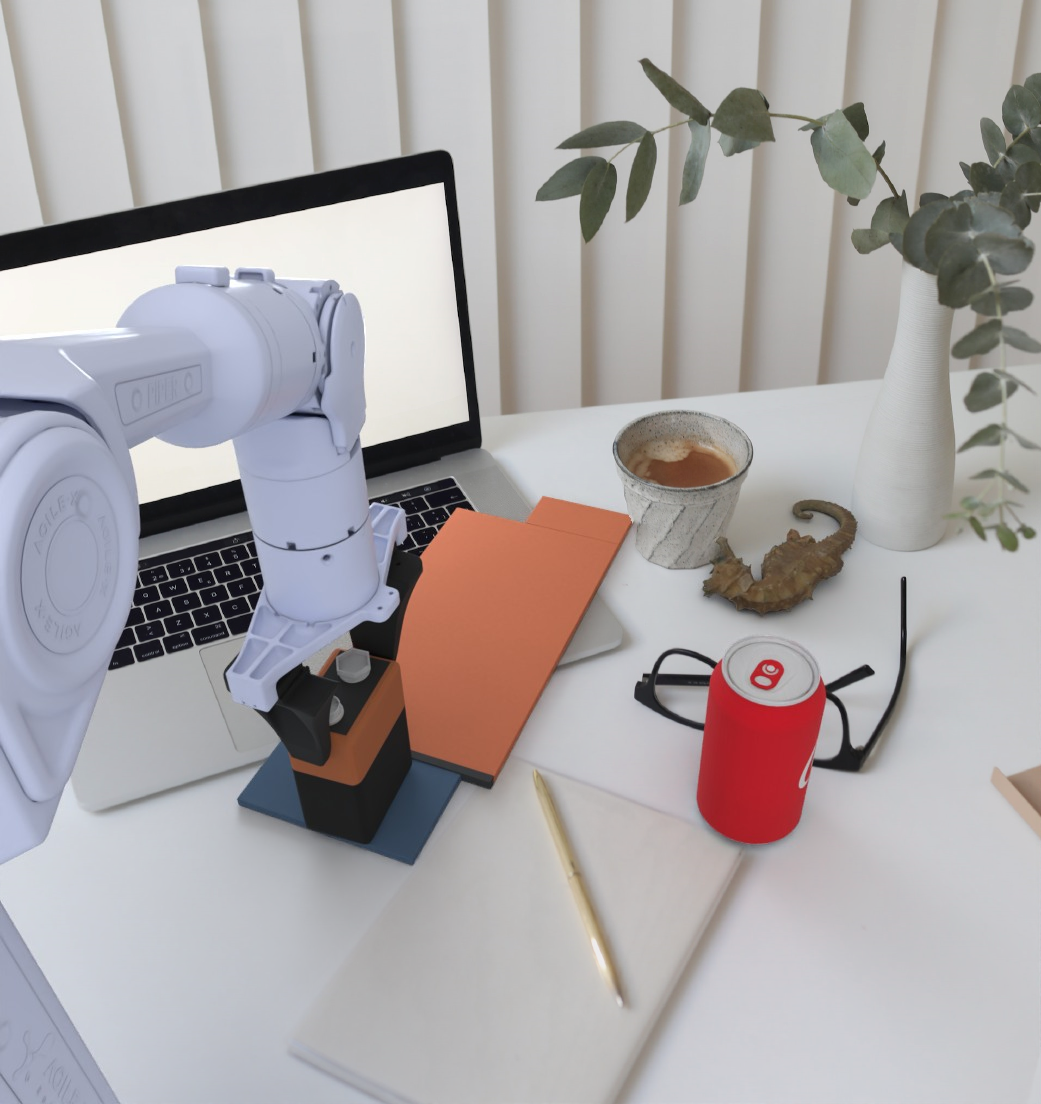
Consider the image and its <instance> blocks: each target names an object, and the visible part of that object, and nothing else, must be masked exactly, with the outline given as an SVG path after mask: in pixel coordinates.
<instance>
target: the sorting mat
mask: <svg viewBox="0 0 1041 1104" xmlns="http://www.w3.org/2000/svg"><path fill="white" fill-rule="evenodd" d="M629 515H630V514H628V513H623V512H618V511H614V510H609V509H604V508H601V507H595V506H592V505H586V504H582V503H578V502H574V501H569V500H564V499H558V498H555V497H550V496H547V495H542V496H541V498H540V500H539V501H538V502H537V504H536V505H535V507H534V508H533V510H532V511H531V513H530V514H529V516H528V517H527V519H526V520H525V522H524V521H518V520H513V519H510V518H505V517H500V516H497V515H492V514H488V513H483V512H478V511H475V510H471V509H466V508H461V507H456V508H455V510H454V511H453V512H452V514H451V515H450V516H449V518H448V519H447V520H446V521H445V523H444V524H443V526H442V527H441V528H440V529H439V531H438V532H437V533H436V535H435V536H434V538H433V539H432V540H431V541H430V542H429V544H428V546H426V548H425V549H424V551H423V552H422V553H421V555H420V556H419V557H420V558H421V560H422V564H423V572H422V574H421V576H420V578H419V579H418V581H417V583H416V585H415V587H414V589H413V592H412V594H411V597H410V600H409V602H408V605H407V609H406V612H405V616H404V620H403V625H402V631H401V636H400V642H399V648H398V654H397V658H396V662H398V663H399V665H400V670H401V678H402V685H403V693H404V701H405V709H406V717H407V724H408V732H409V740H410V748H411V755H412V765H411V768H410V770H409V771H408V773H407V775H406V777H405V779H404V781H403V783H402V785H401V787H400V788H399V790H398V792H397V794H396V796H395V798H394V800H393V802H392V804H391V805H390V807H389V809H388V811H387V813H386V815H385V817H384V819H383V821H382V822H381V824H380V826H379V828H378V830H377V832H376V834H375V836H374V837H373V839H372V840H371V842H370V843H368V844H365V845H364V844H360V843H356V842H353V841H349V840H346V839H342V838H339V837H335V836H331V835H328V834H324V833H321V832H317V831H314V830H310V829H308V828H307V827H306V824H305V821H304V816H303V812H302V808H301V804H300V800H299V795H298V791H297V787H296V783H295V778H294V774H293V770H292V766H291V762H290V757H289V753H288V750H287V748H286V747H285V745H284V744H283V742H282V741H281V740H280V741H279V742H278V744H277V745H276V746H275V747H274V749H273V750H272V752H271V753H270V754H269V756H268V757H267V759H266V760H265V761H264V762H263V763H262V765H261V766H260V768H259V769H258V770H257V772H256V773H255V774H254V775H253V777H252V778H251V779H250V781H249V782H248V783H247V785H246V786H245V788H243V790H242V791H241V792H240V794H239V795H238V797H237V798H236V801H237V805H238V806H241V807H244V808H247V809H249V810H253V811H255V812H258V813H261V814H263V815H266V816H270V817H272V818H275V819H278V820H282V821H284V822H286V823H289V824H292V825H296V826H298V827H301V828H304V829H306V830H309V831H313V832H315V833H319V834H321V835H324V836H327V837H330V838H333V839H336V840H338V841H341V842H343V843H347V844H349V845H353V846H355V847H359V848H362V849H364V850H367V851H370V852H372V853H375V854H379V855H381V856H384V857H387V858H390V859H392V860H396V861H399V862H402V863H404V864H407V865H409V866H414V864H416V863H415V862H416V861H417V859H418V858H419V856H420V854H421V852H422V850H423V848H424V847H425V845H426V844H427V841H428V839H429V838H430V836H431V834H432V832H433V831H434V829H435V827H436V825H437V824H438V822H439V820H440V819H441V817H442V815H443V813H444V811H445V810H446V809H447V806H448V804H449V803H450V801H451V799H452V797H453V796H454V794H455V792H456V790H457V789H458V787H459V785H460V783H461V781H463V782H465V783H467V784H468V783H469V784H472V785H475V786H478V787H481V788H485V789H488V790H492V789H493V786H494V784H495V783H496V780H497V779H498V776H499V775H500V773H501V771H502V769H503V767H504V765H505V764H506V762H507V760H508V758H509V756H510V754H511V753H512V750H513V749H514V747H515V745H516V743H517V741H518V739H519V737H520V735H521V734H522V732H523V730H524V729H525V726H526V724H527V723H528V720H529V718H530V717H531V715H532V713H533V711H534V709H535V707H536V706H537V703H538V702H539V700H540V698H541V696H542V695H543V692H544V691H545V689H546V688H547V685H548V683H549V681H550V679H551V677H552V676H553V674H554V672H555V670H556V668H557V667H558V664H559V663H560V662H561V661H560V660H561V659H562V657H563V655H564V653H565V651H566V649H567V647H568V646H569V644H570V642H571V640H572V638H573V637H574V635H575V633H576V631H577V629H578V627H579V625H580V623H581V621H582V620H583V617H584V616H585V614H586V612H587V611H588V609H589V606H590V605H591V603H592V601H593V599H594V597H595V595H596V593H597V591H598V589H599V588H600V586H601V584H602V582H603V580H604V578H605V576H606V575H607V573H608V571H609V569H610V567H611V566H612V563H613V562H614V560H615V559H616V556H617V554H618V553H619V550H620V548H621V547H622V545H623V543H624V541H625V539H626V538H627V536H628V534H629V531H630V529H631V528H632V526H633V524H632V521H631V518H630V517H629ZM350 648H353V645H352V646H351V647H350Z"/></svg>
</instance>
